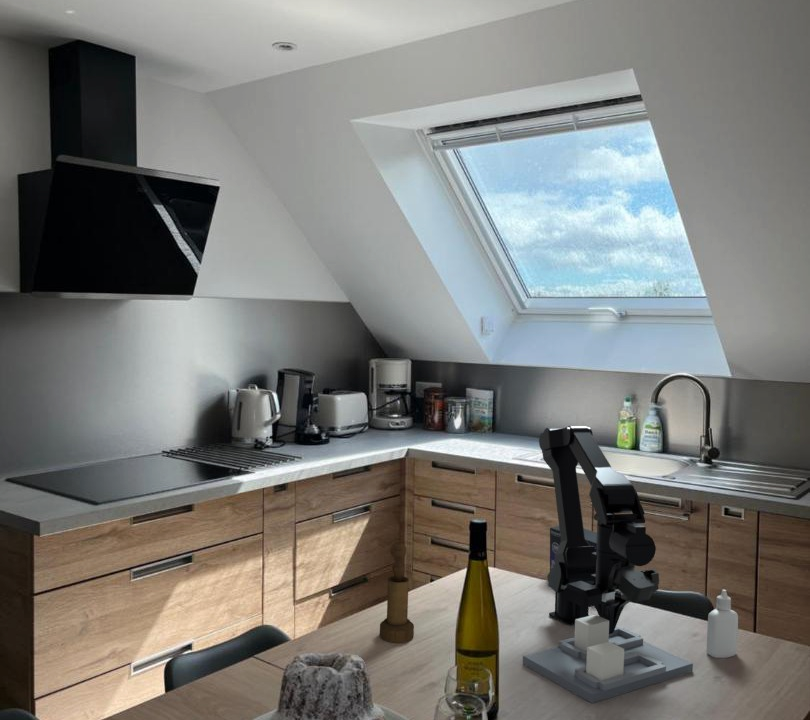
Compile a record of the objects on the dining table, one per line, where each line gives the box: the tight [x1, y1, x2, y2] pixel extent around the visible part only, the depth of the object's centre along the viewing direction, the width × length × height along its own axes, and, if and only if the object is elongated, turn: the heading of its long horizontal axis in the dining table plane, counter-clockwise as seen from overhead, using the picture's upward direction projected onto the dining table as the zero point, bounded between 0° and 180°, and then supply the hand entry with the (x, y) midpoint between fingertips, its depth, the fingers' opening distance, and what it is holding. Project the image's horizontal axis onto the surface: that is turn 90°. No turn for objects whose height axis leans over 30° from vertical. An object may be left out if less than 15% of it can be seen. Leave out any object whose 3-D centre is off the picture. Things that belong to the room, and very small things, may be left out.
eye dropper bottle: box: [706, 589, 739, 659], centre depth 153 cm, size 4×6×12 cm
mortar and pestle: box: [379, 541, 415, 644], centre depth 158 cm, size 7×6×18 cm
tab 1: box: [574, 614, 609, 651], centre depth 152 cm, size 4×5×5 cm
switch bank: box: [522, 625, 694, 704], centre depth 147 cm, size 17×24×2 cm
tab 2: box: [586, 642, 624, 681], centre depth 139 cm, size 4×5×5 cm
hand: (609, 633), depth 154 cm, fingers closed
